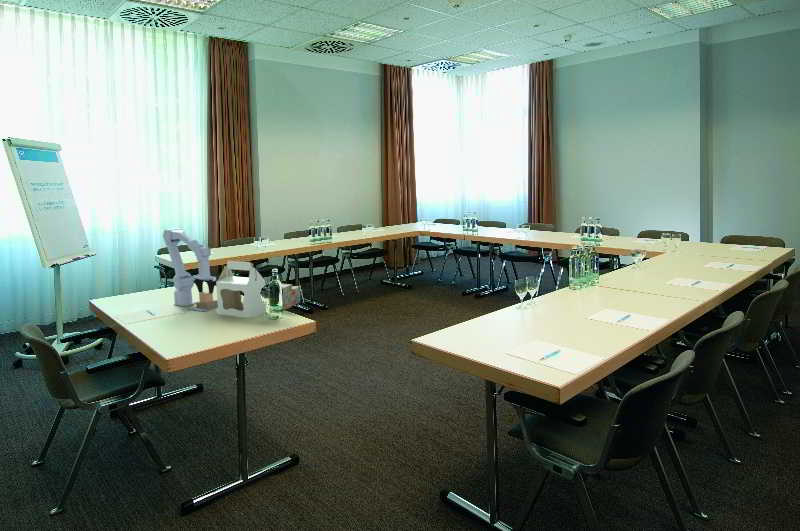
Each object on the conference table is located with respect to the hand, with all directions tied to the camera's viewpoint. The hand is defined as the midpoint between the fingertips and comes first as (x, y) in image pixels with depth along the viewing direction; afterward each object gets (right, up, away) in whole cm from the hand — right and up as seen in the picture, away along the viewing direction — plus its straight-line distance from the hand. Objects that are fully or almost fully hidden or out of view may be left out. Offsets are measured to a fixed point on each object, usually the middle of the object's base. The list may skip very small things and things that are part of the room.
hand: (206, 292), depth 299 cm
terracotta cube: (0, -5, +1) cm, 5 cm away
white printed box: (+45, -8, +1) cm, 46 cm away
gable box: (+25, -10, -14) cm, 30 cm away
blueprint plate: (0, -8, +1) cm, 8 cm away
